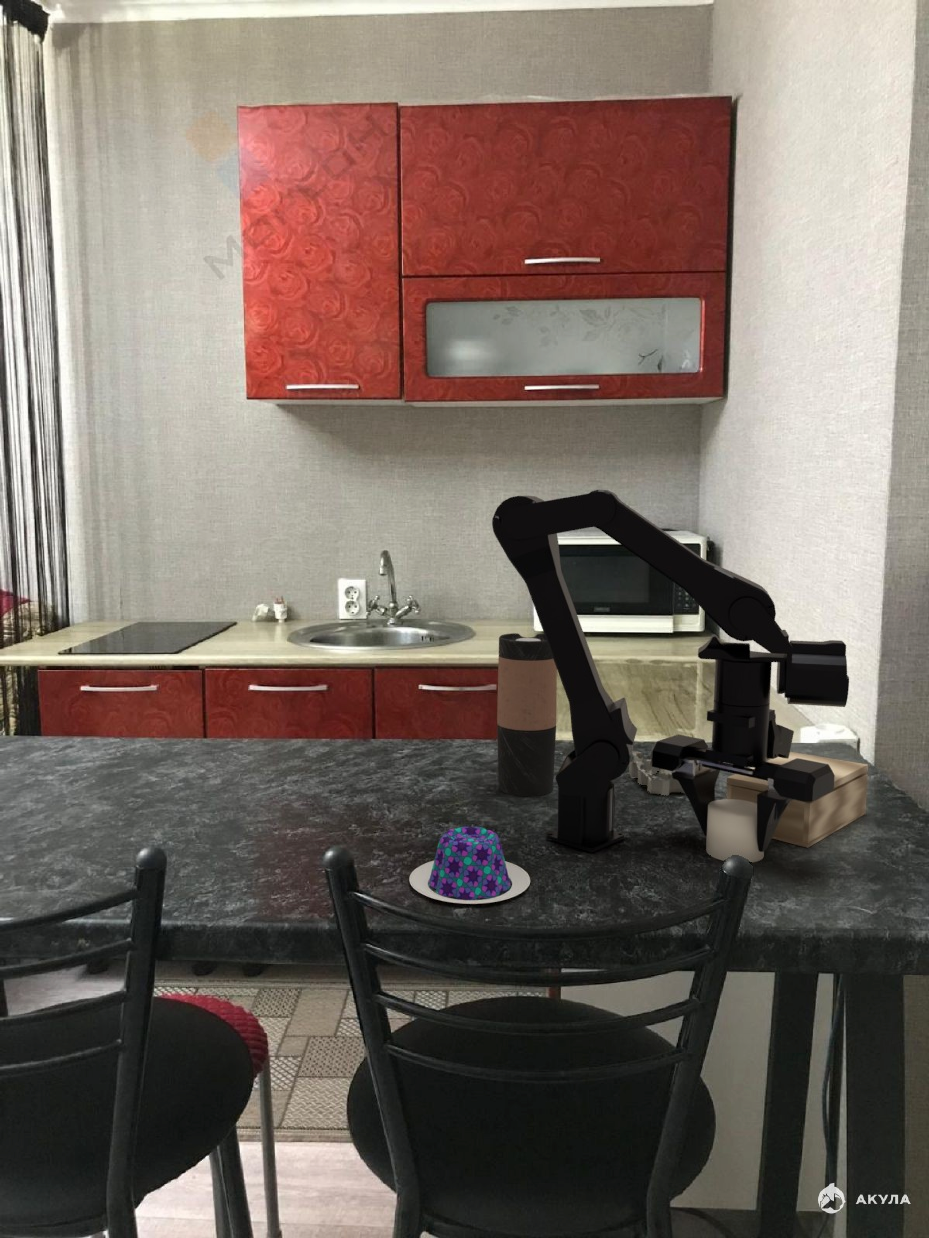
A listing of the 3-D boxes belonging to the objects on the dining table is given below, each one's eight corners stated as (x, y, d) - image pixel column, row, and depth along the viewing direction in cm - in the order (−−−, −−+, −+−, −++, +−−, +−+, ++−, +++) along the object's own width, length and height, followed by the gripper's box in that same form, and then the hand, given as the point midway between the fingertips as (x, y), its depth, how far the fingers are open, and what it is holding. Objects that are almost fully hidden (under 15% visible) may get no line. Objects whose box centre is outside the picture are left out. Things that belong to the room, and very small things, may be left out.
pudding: (552, 898, 95) (553, 846, 95) (438, 920, 90) (438, 865, 90) (496, 856, 106) (497, 809, 105) (391, 873, 101) (391, 824, 100)
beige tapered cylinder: (747, 867, 103) (749, 821, 102) (695, 852, 107) (697, 807, 106) (773, 852, 107) (775, 807, 106) (723, 838, 111) (725, 795, 110)
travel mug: (525, 801, 124) (527, 643, 121) (484, 787, 130) (485, 636, 127) (567, 789, 129) (570, 637, 126) (525, 776, 135) (528, 630, 132)
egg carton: (624, 774, 137) (625, 746, 136) (676, 773, 138) (677, 744, 137) (648, 798, 126) (649, 767, 126) (705, 796, 127) (706, 765, 127)
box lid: (810, 800, 108) (810, 793, 108) (726, 784, 115) (726, 777, 114) (867, 771, 119) (868, 764, 119) (788, 757, 126) (789, 751, 126)
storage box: (807, 847, 108) (810, 803, 108) (725, 826, 115) (726, 784, 115) (865, 813, 120) (867, 773, 119) (787, 795, 127) (789, 758, 126)
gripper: (860, 703, 104) (851, 845, 106) (702, 679, 117) (697, 806, 119) (814, 720, 96) (805, 874, 98) (650, 692, 109) (645, 829, 111)
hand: (735, 843), depth 107 cm, fingers closed on beige tapered cylinder, 6 cm apart
